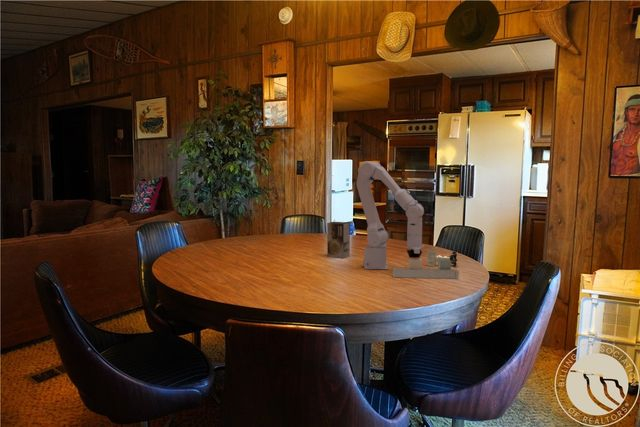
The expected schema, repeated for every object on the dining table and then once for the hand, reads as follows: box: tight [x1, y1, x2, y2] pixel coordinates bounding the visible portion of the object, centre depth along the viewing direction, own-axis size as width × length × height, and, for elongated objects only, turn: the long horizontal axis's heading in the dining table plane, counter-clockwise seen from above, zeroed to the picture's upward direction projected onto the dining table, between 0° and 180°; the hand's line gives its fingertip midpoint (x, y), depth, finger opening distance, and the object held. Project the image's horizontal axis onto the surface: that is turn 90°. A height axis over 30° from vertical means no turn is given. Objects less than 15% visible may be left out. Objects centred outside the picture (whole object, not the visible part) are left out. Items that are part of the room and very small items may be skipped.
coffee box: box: [326, 221, 351, 259], centre depth 200 cm, size 9×6×16 cm
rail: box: [392, 258, 460, 280], centre depth 163 cm, size 24×8×6 cm, turn 86°
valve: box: [426, 249, 458, 267], centre depth 181 cm, size 7×7×12 cm
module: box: [408, 256, 423, 268], centre depth 165 cm, size 4×7×6 cm
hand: (413, 268), depth 170 cm, fingers closed
